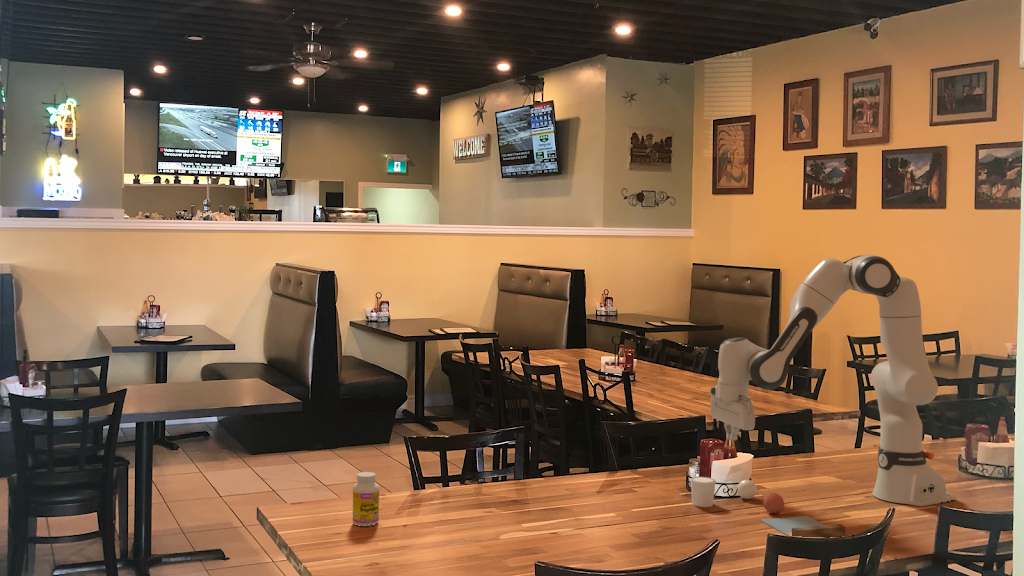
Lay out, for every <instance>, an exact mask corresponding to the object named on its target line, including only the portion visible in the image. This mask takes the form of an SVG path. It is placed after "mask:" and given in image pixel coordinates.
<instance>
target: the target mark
mask: <svg viewBox="0 0 1024 576" xmlns="http://www.w3.org/2000/svg"><path fill="white" fill-rule="evenodd" d="M760 522H762V523H763V524H766V525H768V526H770V528H773V529H774V530H776V531H778V532H779V533H780V532H781V533H782V534H783V535H786V536H787V535H789V533H788V532H792V531H791V530H792V528H800V527H812V526H824V525H825V524H824V523H822V522H819V521H818V520H815V519H813V518H812V517H809V516H808V515H804V516H803V515H800V516H788V517H776V518H762V519H760ZM785 533H788V534H785Z"/></svg>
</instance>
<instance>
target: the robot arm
mask: <svg viewBox="0 0 1024 576" xmlns="http://www.w3.org/2000/svg"><path fill="white" fill-rule="evenodd" d="M918 289H919V288H918V287H917V284H916V283H915V281H914V280H913V279H911V278H909V277H906V276H900V275H899V274H898V273H897V271H896V269H895V268H894V266H893V265H892V263H891V262H889V261H888V259H886V258H885V257H881V256H878V255H874V254H865V255H856V256H854V257H851V258H849V259H846V261H844V262H843V261H841V260H839V259H837V258H830V257H827V258H824V259H822V260H821V261H820V262H819V263H818V264H816V266H815V267H814V268H813V269H812V270H811V271H810V272H809V273H808V274H807V275H806V277H805V278H804V279H803V280H802V282H801V283H800V284H799V286H798V287H797V289H796V291H795V292H794V294H793V297H791V300H790V304H789V309H790V310H789V318H788V322H787V324H786V325H785V328H784V329H783V331H782V332H781V333H780V335H779V336H778V337H777V339H776V341H775V342H774V343H773V345H772V347H771V348H770V349H766V348H763V347H760V346H759V345H757V344H755V343H753V342H751V341H749V340H748V338H746V337H731V338H728V339H726V340H724V341H723V342H721V344H720V346H719V351H718V360H717V361H718V362H717V363H718V365H717V367H718V373H719V376H718V379H717V384H716V385H715V386H714V385H713V386H711V387H710V388H709V394H710V399H709V401H710V405H709V406H710V415H711V417H712V419H714V420H717V421H720V422H723V426H724V429H725V433H726V435H725V436H726V438H727V439H729V440H731V441H737V440H738V434H739V432H740V430H743V431H753V430H754V428H755V426H756V415H755V408H754V404H753V403H752V401H751V399H750V398H749V388H750V387H749V385H750V384H749V382H750V381H752V382H753V383H754V384H755V386H756V387H758V388H760V389H763V390H769V391H770V390H776V389H777V388H780V387H781V386H782V385H783V384H784V383H785V381H786V379H787V376H788V374H789V367H790V364H791V362H792V360H793V358H794V357H795V355H796V354H797V353H798V351H799V350H800V348H801V347H802V345H803V343H804V342H805V340H807V338H808V336H809V335H810V333H811V332H812V331H813V330H814V329H815V328H816V327H817V325H818V324H820V323H821V321H822V320H823V319H824V318H825V317H826V316H827V315H828V314H829V312H830V311H831V310H832V309H833V307H834V306H835V305H836V303H837V302H838V301H839V299H840V297H841V296H843V295H844V294H845V293H846V292H847V291H849V290H852V291H856V292H858V293H862V294H866V295H868V294H869V295H873V296H875V297H876V299H877V302H878V305H879V309H878V310H879V334H880V335H879V337H880V345H881V346H882V348H883V349H884V352H885V355H886V359H887V360H885V361H881V362H879V363H878V364H876V365H875V366H874V368H873V369H872V371H871V373H870V374H871V375H870V381H871V384H872V385H873V388H874V390H875V394H876V400H877V405H878V412H879V417H880V437H879V440H880V441H879V442H880V444H879V447H878V450H877V451H878V452H877V461H878V462H877V463H878V469H877V474H876V481H875V485H874V489H873V490H872V496H874V497H875V498H876V499H880V500H883V501H886V502H891V503H896V504H903V505H904V504H905V505H911V506H915V507H925V506H926V507H927V506H930V505H931V506H932V505H937V504H942V503H941V502H943V503H948V502H947V501H949V502H952V501H951V500H954V501H955V500H956V499H955V496H954V495H953V494H952V493H950V492H948V491H947V485H946V481H945V478H944V476H942V474H940V473H939V472H938V471H936V470H935V469H934V468H933V467H932V466H930V464H928V463H927V459H928V460H933V459H935V455H934V453H933V452H930V451H924V450H923V449H922V448H923V422H922V420H921V417H920V416H919V413H918V410H917V406H924V405H928V404H930V403H931V402H932V401H934V399H935V398H936V397H937V395H938V391H939V385H938V382H937V378H935V376H934V375H933V372H932V371H931V367H930V364H929V360H928V358H927V353H926V351H925V347H924V346H925V345H924V340H923V322H922V308H921V306H922V305H921V299H920V294H919V291H918Z"/></svg>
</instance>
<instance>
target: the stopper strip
mask: <svg viewBox="0 0 1024 576" xmlns="http://www.w3.org/2000/svg"><path fill="white" fill-rule="evenodd" d="M792 536H802V537H833V538H836V537H835V536H844V537H846V525H843V524H841V523H840V524H839V523H838V524H824V526H812V527H800V528H792Z"/></svg>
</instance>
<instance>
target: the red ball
mask: <svg viewBox="0 0 1024 576" xmlns="http://www.w3.org/2000/svg"><path fill="white" fill-rule="evenodd" d="M763 507H764V509H765V510H766V511H767V512H769V513H771V514H778V513H779V514H780V512H782V511H783V510H784V508H785V501H784V498H783V497H782V496H781V495H780V494H778V493H775V492H770V493H768V494H766V496H764V499H763Z"/></svg>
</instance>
